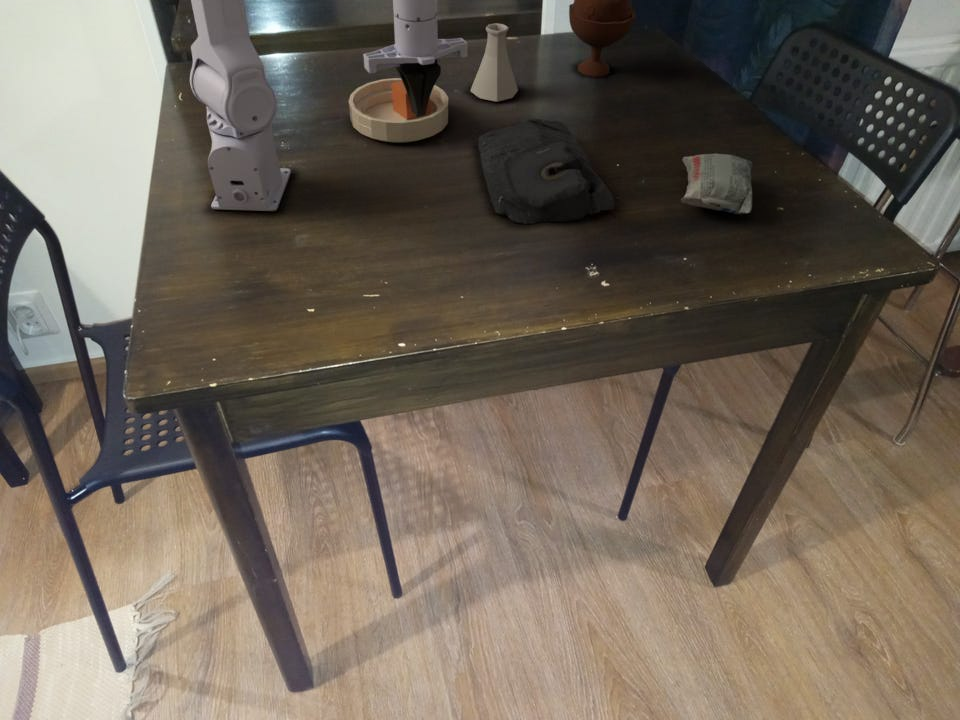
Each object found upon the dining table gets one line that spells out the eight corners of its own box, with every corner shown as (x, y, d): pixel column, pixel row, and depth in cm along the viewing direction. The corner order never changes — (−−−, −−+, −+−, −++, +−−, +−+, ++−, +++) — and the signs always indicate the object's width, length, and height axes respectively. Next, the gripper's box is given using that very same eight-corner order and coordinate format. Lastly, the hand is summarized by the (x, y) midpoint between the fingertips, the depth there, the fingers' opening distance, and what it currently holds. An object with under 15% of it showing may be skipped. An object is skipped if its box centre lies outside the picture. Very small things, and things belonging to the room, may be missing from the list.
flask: (490, 78, 114) (493, 14, 107) (525, 92, 111) (531, 26, 104) (462, 92, 110) (463, 27, 103) (497, 107, 107) (501, 40, 100)
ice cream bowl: (623, 58, 122) (640, -36, 111) (626, 86, 114) (644, -13, 103) (562, 54, 122) (573, -41, 112) (561, 81, 114) (573, -18, 104)
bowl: (446, 147, 98) (446, 124, 95) (345, 144, 98) (342, 120, 95) (449, 102, 108) (450, 79, 105) (358, 99, 108) (356, 76, 105)
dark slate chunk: (575, 134, 102) (579, 102, 99) (618, 219, 87) (625, 186, 83) (472, 138, 100) (473, 107, 97) (498, 227, 85) (500, 193, 81)
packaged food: (676, 216, 87) (686, 182, 84) (679, 169, 96) (689, 136, 92) (746, 228, 86) (760, 194, 83) (744, 180, 94) (756, 147, 91)
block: (430, 113, 104) (429, 87, 101) (407, 120, 102) (405, 93, 99) (415, 103, 106) (414, 77, 103) (393, 109, 104) (391, 83, 101)
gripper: (374, 32, 86) (381, 135, 95) (478, 16, 91) (476, 115, 100) (354, 13, 90) (363, 113, 100) (455, -2, 95) (454, 95, 105)
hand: (418, 113), depth 100 cm, fingers closed
